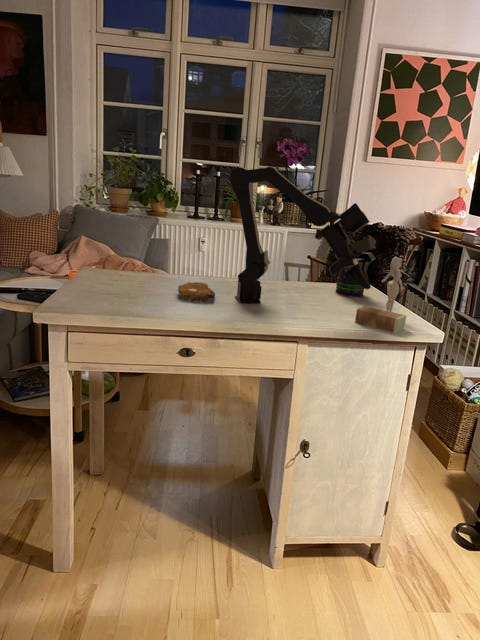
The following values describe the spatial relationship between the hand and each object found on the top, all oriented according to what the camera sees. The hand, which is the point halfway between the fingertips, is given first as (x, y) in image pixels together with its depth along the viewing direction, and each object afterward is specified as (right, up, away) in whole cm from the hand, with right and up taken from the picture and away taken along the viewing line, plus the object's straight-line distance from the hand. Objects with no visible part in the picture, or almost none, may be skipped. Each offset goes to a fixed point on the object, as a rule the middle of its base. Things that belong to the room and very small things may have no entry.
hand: (368, 288), depth 141 cm
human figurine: (+8, -8, +10) cm, 15 cm away
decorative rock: (-50, -2, +14) cm, 52 cm away
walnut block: (-2, -7, +3) cm, 8 cm away
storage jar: (+2, 0, +37) cm, 37 cm away
